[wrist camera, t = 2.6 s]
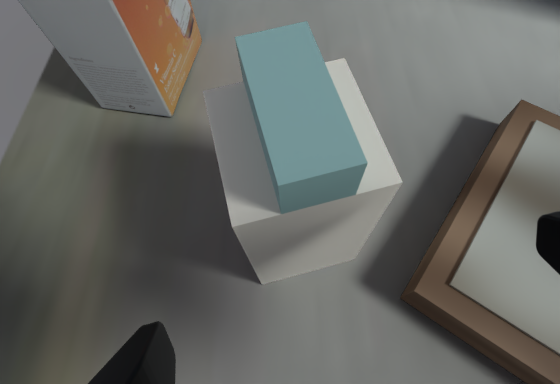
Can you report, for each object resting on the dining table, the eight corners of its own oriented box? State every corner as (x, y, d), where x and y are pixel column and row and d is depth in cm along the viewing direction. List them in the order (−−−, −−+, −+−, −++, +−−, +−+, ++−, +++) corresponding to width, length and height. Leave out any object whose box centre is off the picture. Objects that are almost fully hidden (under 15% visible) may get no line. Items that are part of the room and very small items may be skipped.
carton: (354, 259, 20) (423, 148, 9) (261, 284, 20) (218, 201, 9) (324, 177, 22) (352, 11, 11) (241, 199, 22) (187, 47, 11)
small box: (173, 120, 25) (95, -26, 15) (101, 110, 25) (-17, -37, 16) (204, 39, 28) (157, -123, 18) (140, 32, 29) (62, -128, 19)
